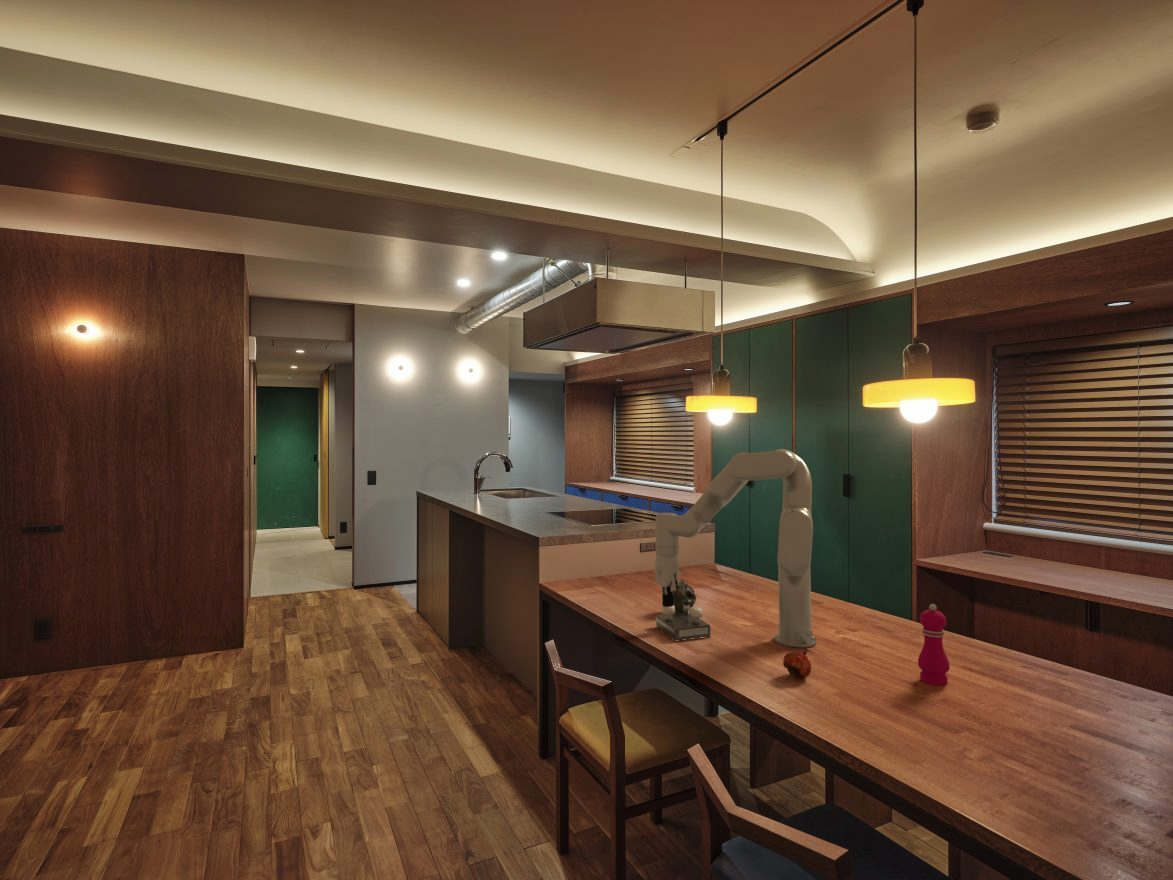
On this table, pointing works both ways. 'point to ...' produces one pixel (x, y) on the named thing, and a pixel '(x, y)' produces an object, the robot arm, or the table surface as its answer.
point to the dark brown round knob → (686, 605)
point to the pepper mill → (933, 648)
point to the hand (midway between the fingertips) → (667, 605)
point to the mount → (682, 627)
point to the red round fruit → (797, 664)
